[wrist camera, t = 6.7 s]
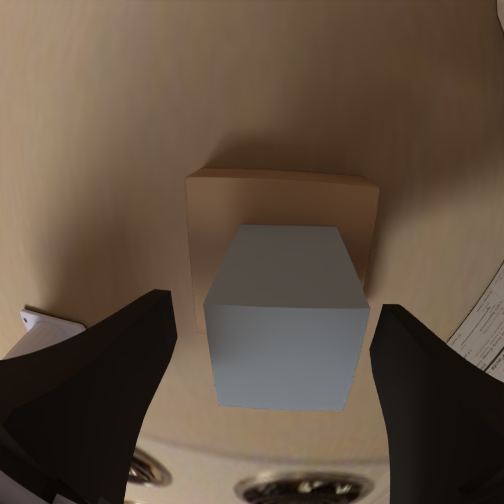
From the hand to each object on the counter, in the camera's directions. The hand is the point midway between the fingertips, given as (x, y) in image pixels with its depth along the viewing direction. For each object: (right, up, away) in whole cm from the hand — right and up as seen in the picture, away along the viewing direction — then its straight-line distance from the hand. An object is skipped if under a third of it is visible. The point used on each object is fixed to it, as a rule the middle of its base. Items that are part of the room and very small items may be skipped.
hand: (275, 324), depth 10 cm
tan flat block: (+1, +3, +6) cm, 7 cm away
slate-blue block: (+1, +2, +3) cm, 4 cm away
